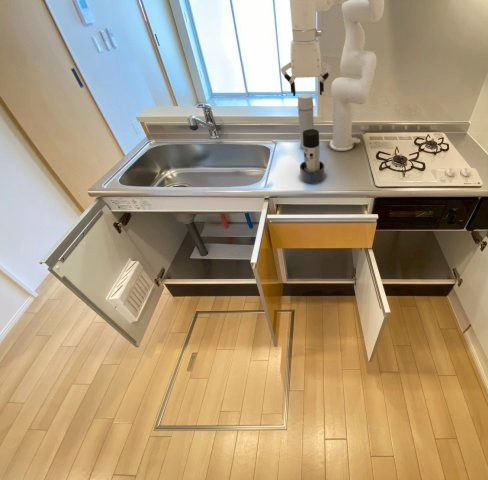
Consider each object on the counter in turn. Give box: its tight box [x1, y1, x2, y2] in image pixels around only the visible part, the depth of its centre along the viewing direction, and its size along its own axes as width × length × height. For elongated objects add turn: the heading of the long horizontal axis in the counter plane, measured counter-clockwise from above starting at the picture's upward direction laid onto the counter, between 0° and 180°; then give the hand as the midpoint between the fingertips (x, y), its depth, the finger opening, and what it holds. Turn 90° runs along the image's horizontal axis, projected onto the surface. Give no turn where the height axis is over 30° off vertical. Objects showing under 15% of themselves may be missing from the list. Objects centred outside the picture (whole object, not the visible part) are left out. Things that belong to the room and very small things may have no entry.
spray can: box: [302, 128, 321, 172], centre depth 113 cm, size 7×7×20 cm
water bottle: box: [296, 93, 315, 150], centre depth 131 cm, size 9×8×25 cm
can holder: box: [299, 160, 326, 185], centre depth 118 cm, size 11×11×6 cm
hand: (307, 94), depth 96 cm, fingers open, 9 cm apart
